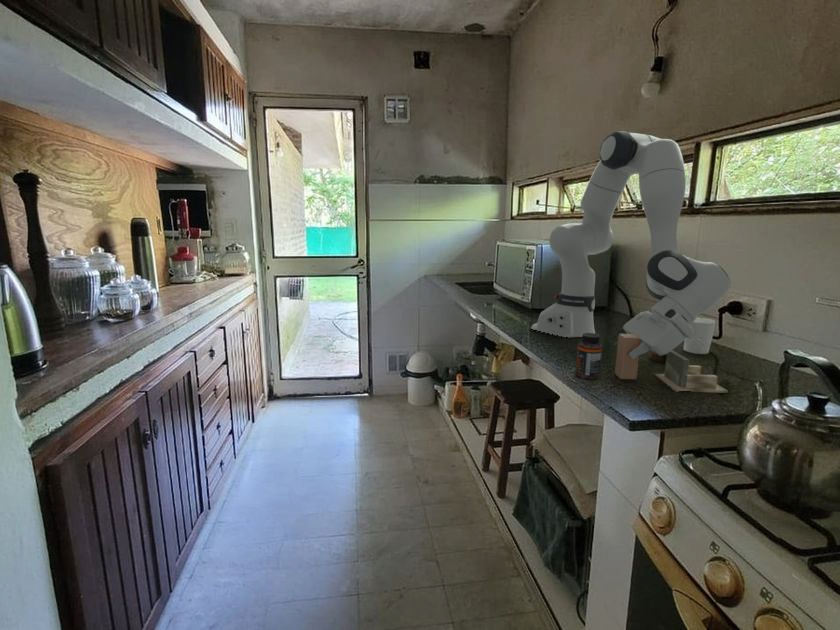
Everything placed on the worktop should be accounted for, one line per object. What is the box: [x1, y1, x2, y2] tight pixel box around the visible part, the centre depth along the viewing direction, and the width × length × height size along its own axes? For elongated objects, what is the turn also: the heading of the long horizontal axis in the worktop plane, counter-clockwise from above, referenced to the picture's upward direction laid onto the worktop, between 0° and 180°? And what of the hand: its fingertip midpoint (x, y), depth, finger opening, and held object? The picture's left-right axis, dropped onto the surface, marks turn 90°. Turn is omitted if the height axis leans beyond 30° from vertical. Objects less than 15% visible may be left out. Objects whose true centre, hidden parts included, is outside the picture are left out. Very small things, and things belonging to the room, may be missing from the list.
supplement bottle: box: [575, 333, 603, 380], centre depth 114 cm, size 6×6×11 cm
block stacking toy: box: [654, 349, 729, 394], centre depth 109 cm, size 12×11×8 cm
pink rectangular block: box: [614, 333, 641, 380], centre depth 114 cm, size 4×4×11 cm
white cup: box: [683, 317, 716, 355], centre depth 136 cm, size 8×8×10 cm
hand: (625, 352), depth 114 cm, fingers open, 5 cm apart
